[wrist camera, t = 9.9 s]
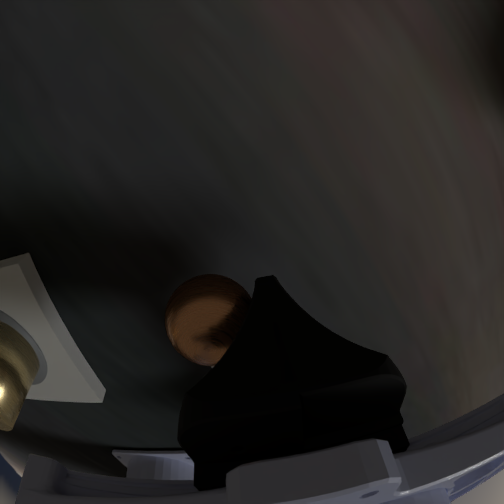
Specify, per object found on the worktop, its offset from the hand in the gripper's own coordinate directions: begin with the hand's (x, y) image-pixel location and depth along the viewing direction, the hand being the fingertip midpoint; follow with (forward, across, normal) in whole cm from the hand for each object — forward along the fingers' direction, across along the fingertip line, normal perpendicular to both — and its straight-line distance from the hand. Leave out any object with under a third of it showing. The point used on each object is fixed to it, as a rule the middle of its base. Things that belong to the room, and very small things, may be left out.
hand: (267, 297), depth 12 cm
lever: (+1, +2, +3) cm, 4 cm away
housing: (+2, +17, +3) cm, 17 cm away
